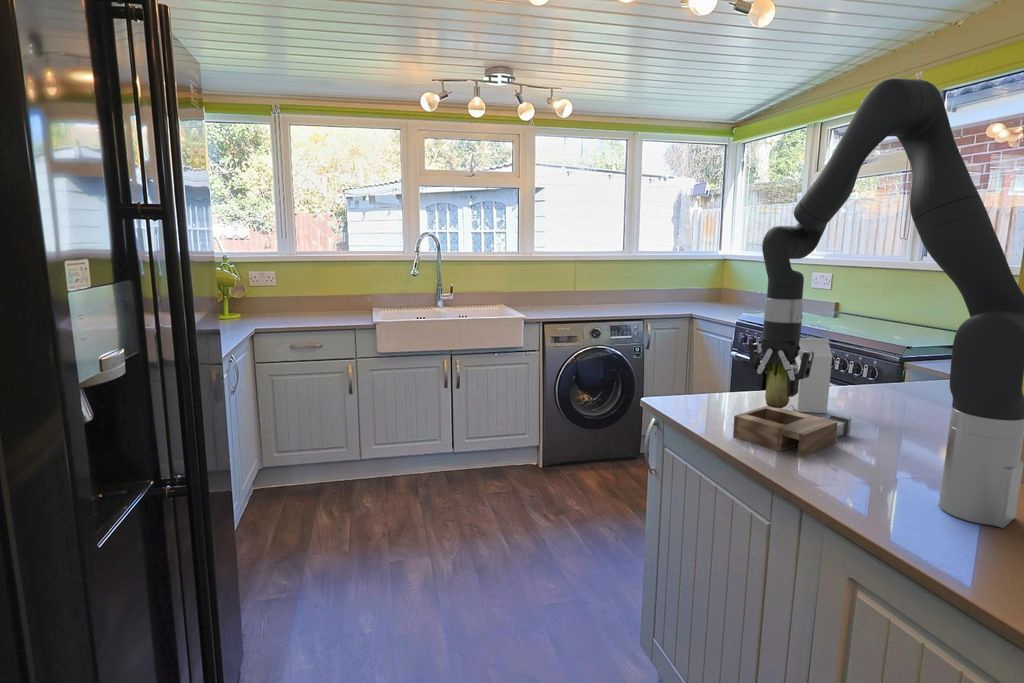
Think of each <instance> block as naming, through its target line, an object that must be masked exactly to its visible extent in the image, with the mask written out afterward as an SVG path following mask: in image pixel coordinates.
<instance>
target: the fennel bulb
mask: <svg viewBox="0 0 1024 683" xmlns="http://www.w3.org/2000/svg"><path fill="white" fill-rule="evenodd" d="M788 360H789V359H788ZM769 363H770V362H769ZM766 373H767V378H766V390H765V395H764V397H765V402H766V403H765V404H766V406H770V407H773V408H783V409H784V408H786V407H787V405H789V404H790V397H789V396H788V395H787V393H788V381H789V375H788V372H787V371H786V370H785V368H784V365H783V363H782V365H779V364H777V363H776V364H772V363H770V364H769V366H768V370H767V372H766Z"/></svg>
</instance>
